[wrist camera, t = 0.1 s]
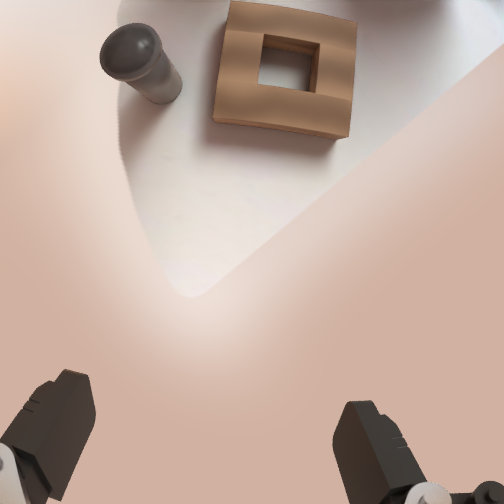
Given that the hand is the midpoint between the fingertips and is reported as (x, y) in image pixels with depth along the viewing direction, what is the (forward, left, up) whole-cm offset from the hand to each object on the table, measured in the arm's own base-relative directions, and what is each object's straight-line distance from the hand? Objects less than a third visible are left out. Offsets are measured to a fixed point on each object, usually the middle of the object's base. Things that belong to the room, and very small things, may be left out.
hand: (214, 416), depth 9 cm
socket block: (-19, +4, -29) cm, 35 cm away
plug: (-16, -10, -29) cm, 35 cm away
